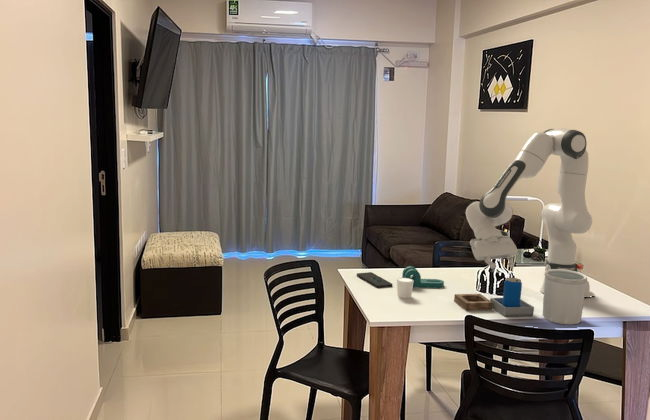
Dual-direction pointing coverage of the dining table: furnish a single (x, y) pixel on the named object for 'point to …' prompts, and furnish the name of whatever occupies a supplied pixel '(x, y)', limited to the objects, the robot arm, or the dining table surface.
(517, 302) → the beverage can
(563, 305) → the utensil holder
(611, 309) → the dining table surface
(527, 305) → the slate tray
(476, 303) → the walnut collar block
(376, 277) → the smart home device
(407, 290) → the shot glass
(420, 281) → the bracket
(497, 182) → the robot arm
